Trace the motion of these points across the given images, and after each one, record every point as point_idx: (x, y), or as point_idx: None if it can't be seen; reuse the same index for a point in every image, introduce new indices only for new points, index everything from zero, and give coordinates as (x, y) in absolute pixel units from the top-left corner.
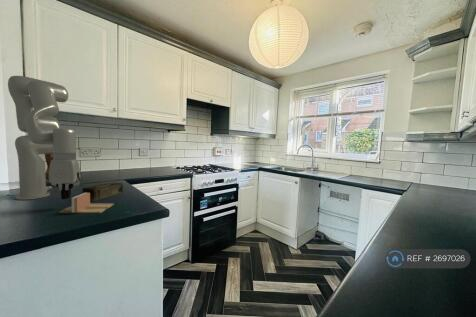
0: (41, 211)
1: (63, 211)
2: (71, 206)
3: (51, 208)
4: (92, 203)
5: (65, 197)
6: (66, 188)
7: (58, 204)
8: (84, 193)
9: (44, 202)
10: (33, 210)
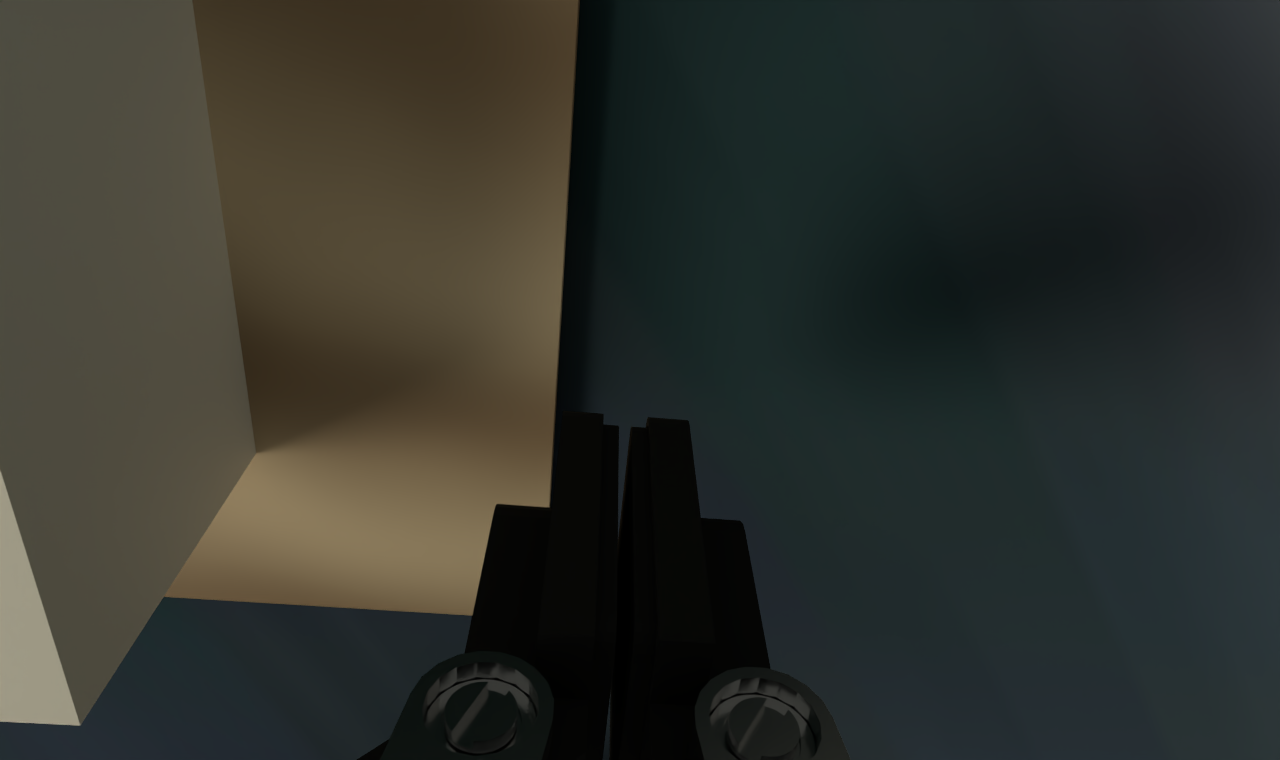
0: (1065, 187)
1: (465, 3)
2: (530, 409)
3: (944, 387)
4: (209, 581)
5: (559, 443)
6: (488, 732)
7: (928, 622)
8: (5, 637)
9: (1227, 738)
10: (1263, 280)
